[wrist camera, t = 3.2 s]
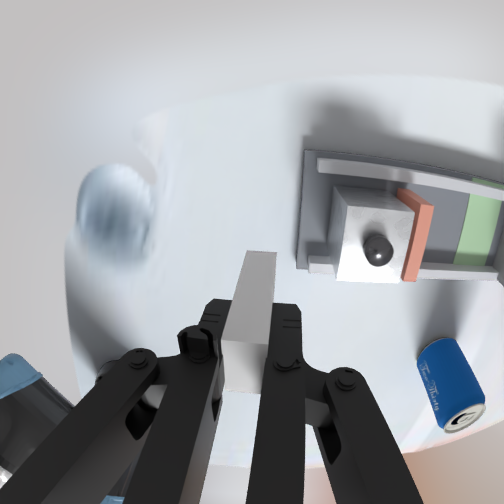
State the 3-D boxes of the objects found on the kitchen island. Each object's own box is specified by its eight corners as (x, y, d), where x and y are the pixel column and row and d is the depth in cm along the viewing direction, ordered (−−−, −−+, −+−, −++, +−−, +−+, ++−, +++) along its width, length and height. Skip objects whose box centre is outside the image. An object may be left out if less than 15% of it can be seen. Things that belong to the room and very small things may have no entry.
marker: (385, 254, 26) (403, 281, 21) (397, 187, 23) (421, 204, 19) (396, 254, 26) (415, 281, 21) (409, 189, 23) (434, 206, 18)
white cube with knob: (326, 246, 26) (338, 287, 20) (333, 185, 24) (351, 210, 17) (377, 249, 26) (402, 290, 19) (388, 191, 23) (420, 217, 17)
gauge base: (296, 263, 29) (299, 313, 22) (304, 149, 24) (314, 162, 17) (505, 273, 27) (539, 309, 19) (527, 190, 22) (572, 214, 15)
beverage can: (425, 335, 32) (457, 407, 21) (462, 332, 31) (498, 397, 20) (408, 369, 34) (431, 439, 24) (444, 366, 34) (471, 429, 23)
